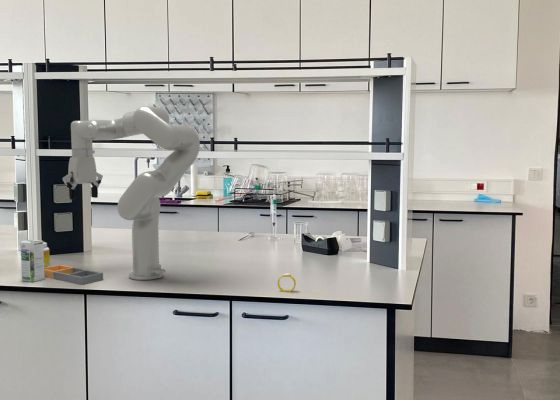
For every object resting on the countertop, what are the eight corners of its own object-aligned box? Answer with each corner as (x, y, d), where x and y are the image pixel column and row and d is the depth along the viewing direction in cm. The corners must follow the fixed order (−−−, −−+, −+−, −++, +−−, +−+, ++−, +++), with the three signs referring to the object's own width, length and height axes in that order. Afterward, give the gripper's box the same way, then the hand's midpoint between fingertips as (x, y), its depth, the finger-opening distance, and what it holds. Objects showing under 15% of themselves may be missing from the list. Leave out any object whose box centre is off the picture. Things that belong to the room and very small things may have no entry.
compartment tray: (103, 279, 224) (102, 273, 224) (82, 284, 217) (81, 277, 217) (60, 270, 239) (59, 264, 239) (39, 275, 232) (38, 268, 232)
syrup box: (21, 280, 223) (19, 241, 222) (34, 277, 229) (32, 238, 227) (32, 282, 221) (30, 242, 219) (45, 279, 226) (43, 239, 225)
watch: (277, 292, 206) (276, 275, 206) (279, 290, 209) (277, 273, 208) (295, 292, 205) (294, 274, 204) (296, 290, 208) (295, 272, 207)
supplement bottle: (51, 267, 246) (50, 241, 245) (48, 270, 241) (46, 244, 240) (37, 267, 246) (36, 242, 245) (33, 270, 240) (31, 244, 239)
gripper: (95, 152, 243) (96, 196, 245) (56, 154, 229) (58, 199, 231) (107, 153, 239) (108, 197, 241) (68, 154, 225) (70, 201, 227)
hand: (84, 198), depth 236 cm, fingers open, 9 cm apart
